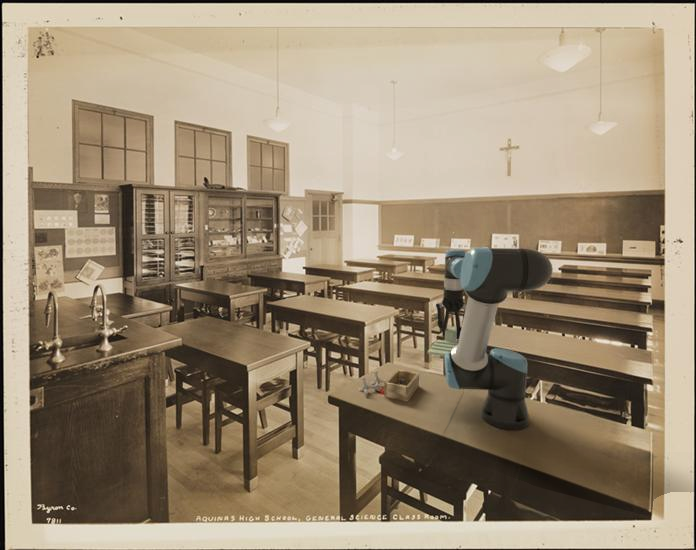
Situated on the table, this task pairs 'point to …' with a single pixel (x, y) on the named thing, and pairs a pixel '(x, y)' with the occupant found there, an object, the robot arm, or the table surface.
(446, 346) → the ridged block with tab
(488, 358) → the robot arm
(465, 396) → the table surface
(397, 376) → the tub
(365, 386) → the molecular model
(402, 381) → the rubber stopper
